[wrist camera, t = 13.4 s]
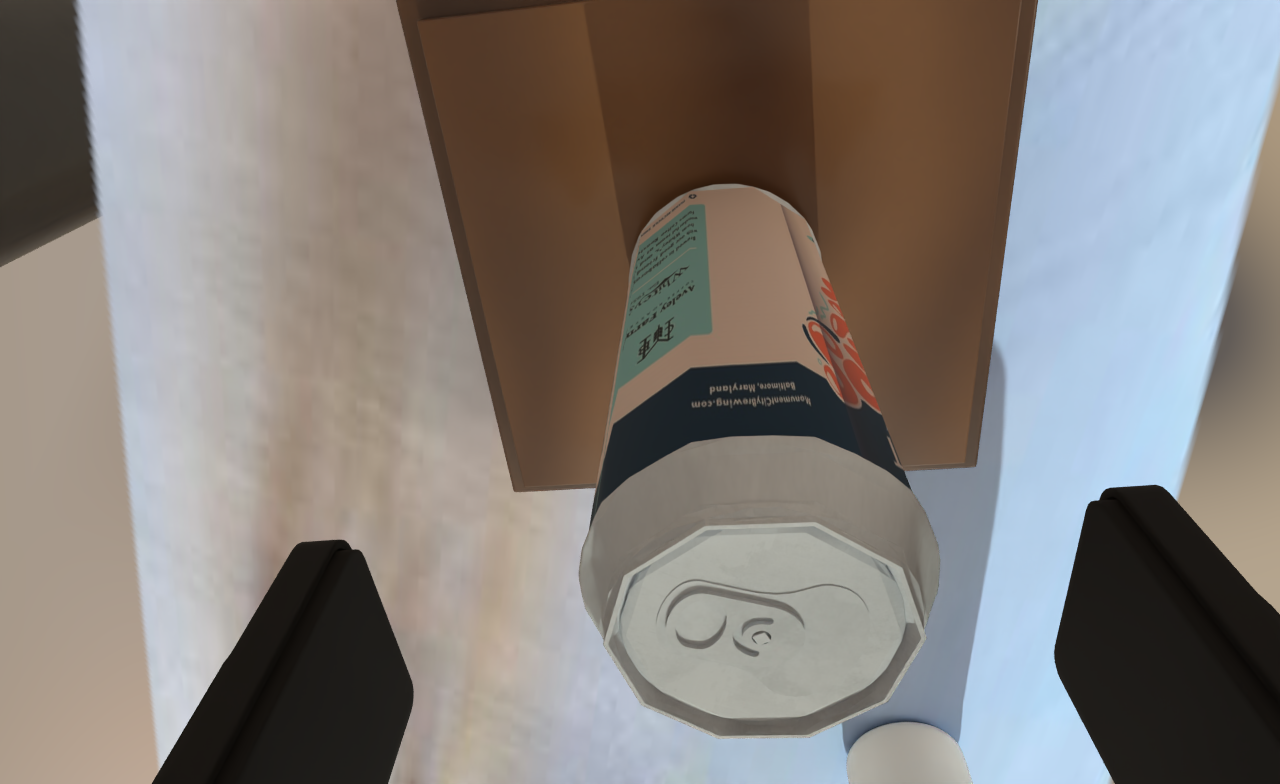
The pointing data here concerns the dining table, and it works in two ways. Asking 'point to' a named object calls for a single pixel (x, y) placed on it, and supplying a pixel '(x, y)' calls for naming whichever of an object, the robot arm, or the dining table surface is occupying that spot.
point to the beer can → (750, 486)
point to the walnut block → (724, 154)
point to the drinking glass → (907, 756)
